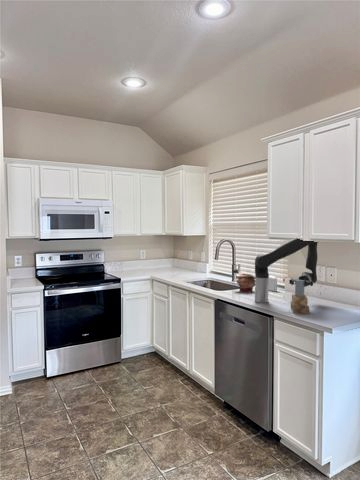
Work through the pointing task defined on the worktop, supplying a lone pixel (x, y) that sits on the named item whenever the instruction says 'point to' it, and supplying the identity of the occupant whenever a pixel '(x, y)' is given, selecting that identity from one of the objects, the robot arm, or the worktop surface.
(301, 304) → the block upper
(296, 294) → the tall block
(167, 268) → the worktop surface
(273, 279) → the photo printer
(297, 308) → the block lower
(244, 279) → the decorative planter
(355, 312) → the worktop surface
